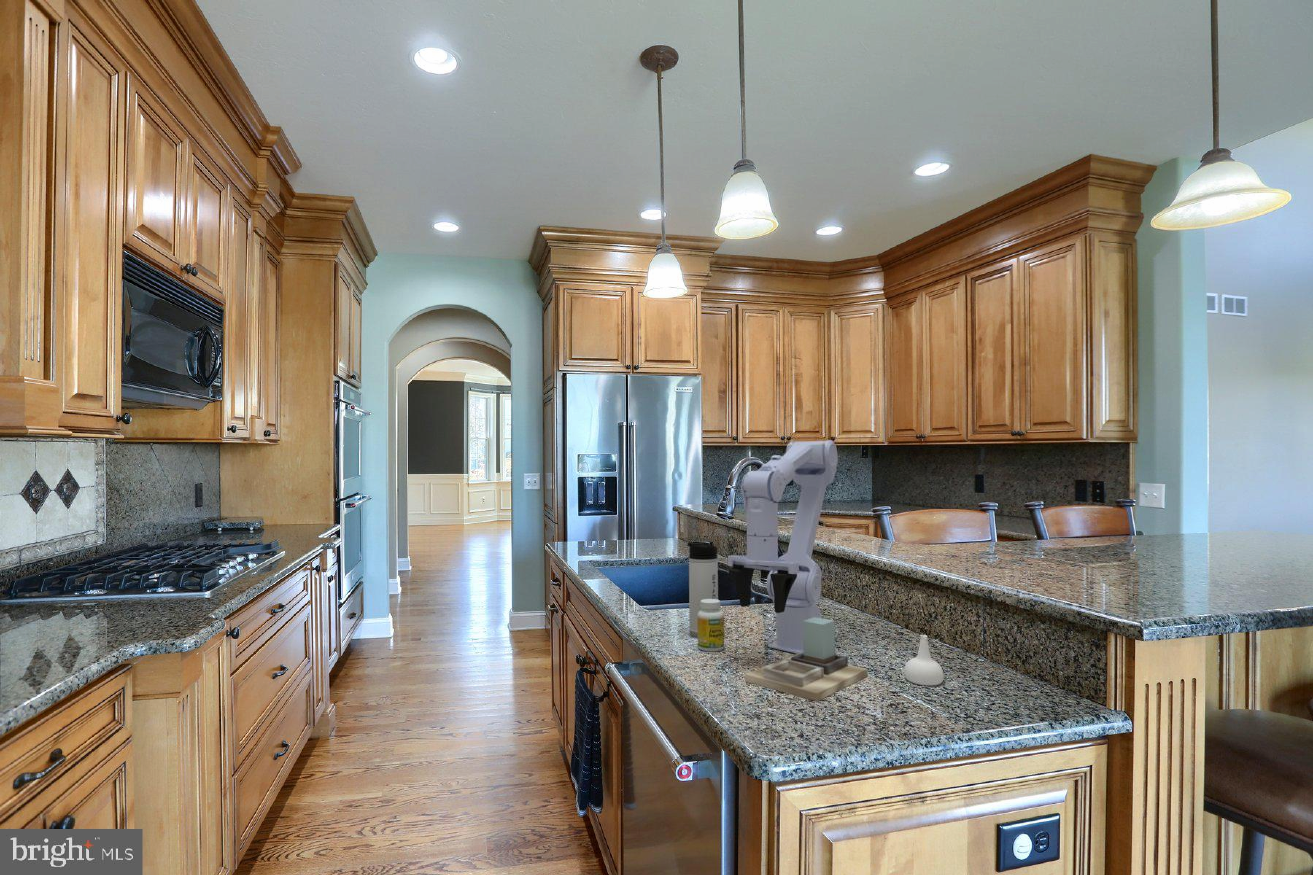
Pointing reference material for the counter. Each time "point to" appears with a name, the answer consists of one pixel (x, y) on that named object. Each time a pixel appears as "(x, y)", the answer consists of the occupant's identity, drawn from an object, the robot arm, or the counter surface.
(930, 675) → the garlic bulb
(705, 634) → the supplement bottle
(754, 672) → the board
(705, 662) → the counter surface
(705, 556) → the travel mug
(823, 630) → the banded peg
